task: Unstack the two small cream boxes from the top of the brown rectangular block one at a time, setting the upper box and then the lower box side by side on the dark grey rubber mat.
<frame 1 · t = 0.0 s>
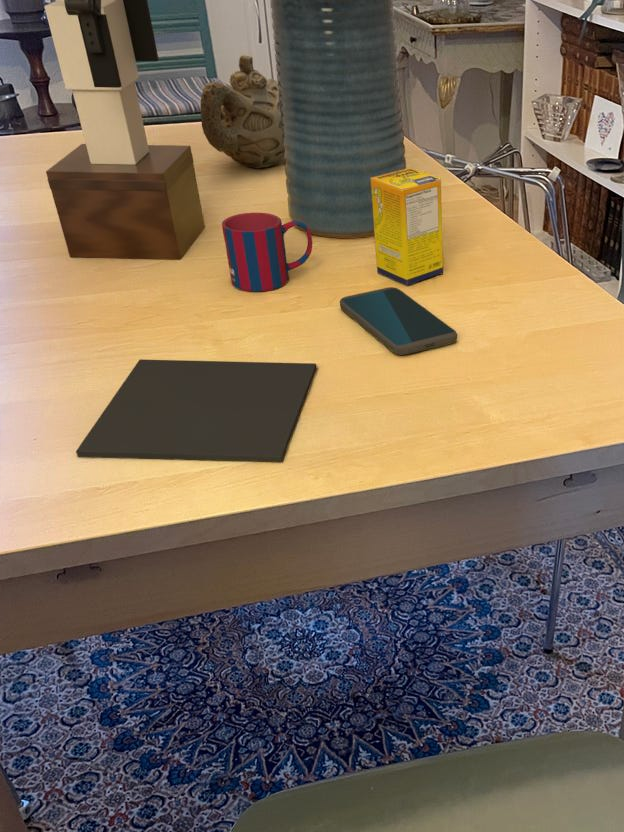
hand: (128, 73, 106), 20 cm above the table, tool pointing down, fingers open, 13 cm apart
vase: (350, 221, 128), on the table
rubber mat: (206, 409, 88), on the table
teapot: (257, 167, 147), on the table
supplement box: (410, 275, 114), on the table
upper box: (103, 83, 109), point 18 cm above the table, touching gripper, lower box
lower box: (120, 157, 115), point 10 cm above the table, touching brown rectangular block, upper box
smartphone: (397, 325, 103), on the table
mug: (274, 281, 112), on the table
brown rectangular block: (139, 241, 121), on the table
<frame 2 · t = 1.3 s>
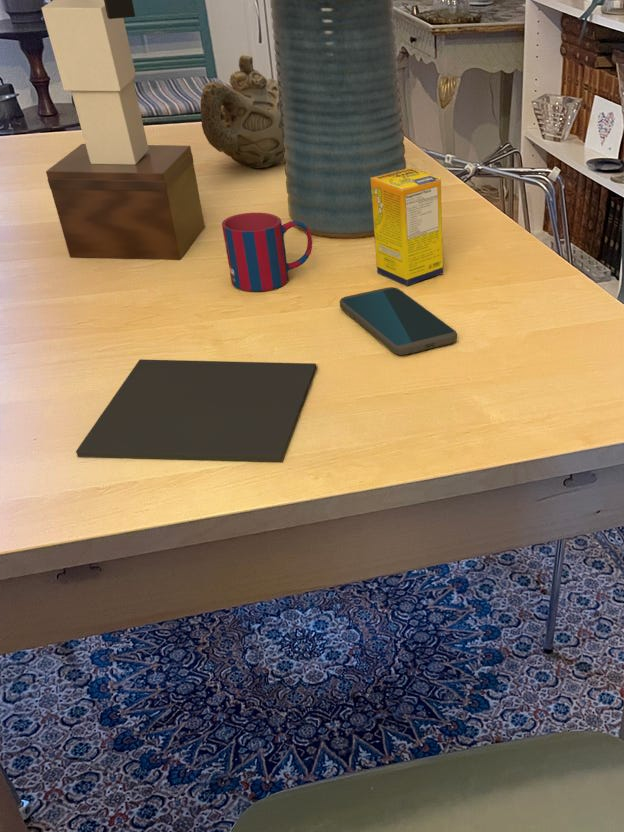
hand: (101, 8, 103), 26 cm above the table, tool pointing down, fingers open, 13 cm apart
nothing on the table moved.
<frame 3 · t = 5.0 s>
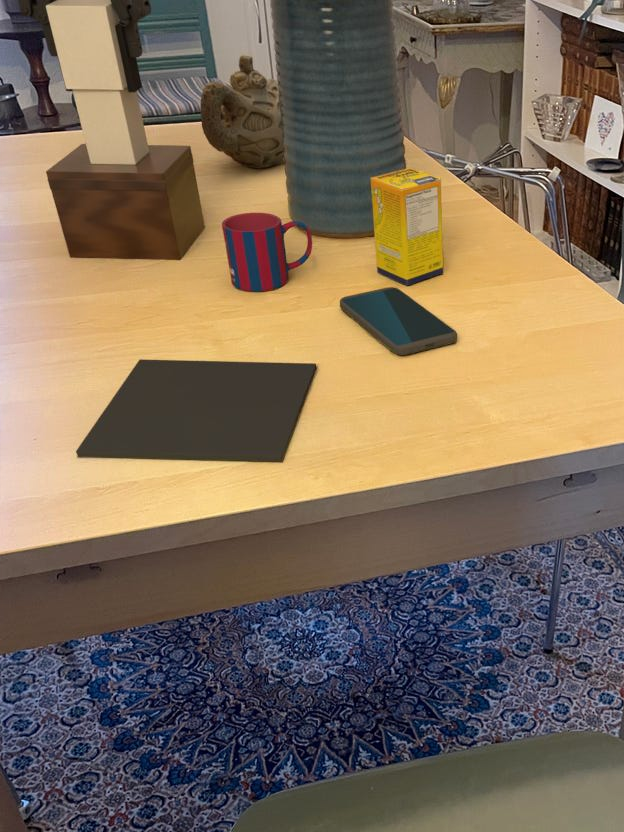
hand: (104, 88, 110), 17 cm above the table, tool pointing down, fingers closed on upper box, 7 cm apart
upper box: (102, 83, 109), point 18 cm above the table, touching gripper, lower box
everything else where it was.
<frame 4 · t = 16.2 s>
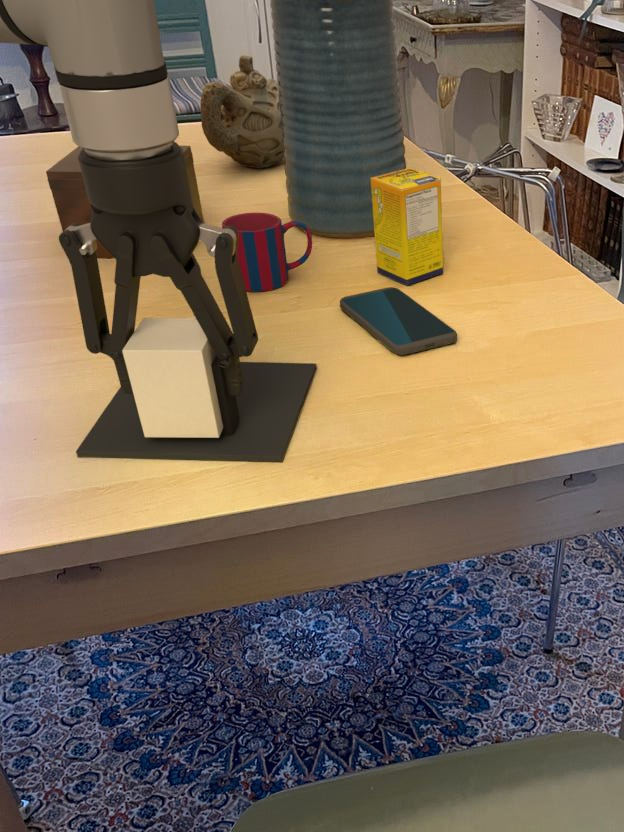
hand: (191, 425, 84), 1 cm above the table, tool pointing down, fingers closed on upper box, 7 cm apart
upper box: (190, 419, 84), point 1 cm above the table, touching gripper
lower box: (120, 157, 115), point 10 cm above the table, touching brown rectangular block
everything else where it was.
when the fingers open (2 cm above the table, at t = 38.6 s): upper box stays where it is, resting on rubber mat.
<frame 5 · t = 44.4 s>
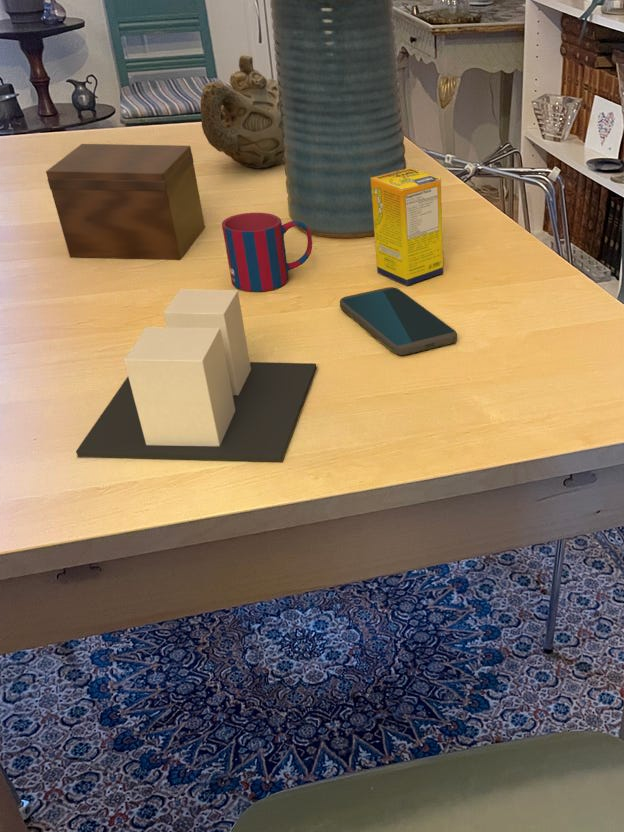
upper box: (192, 427, 84), point 1 cm above the table, touching rubber mat
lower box: (217, 381, 91), point 1 cm above the table, touching rubber mat
everything else where it was.
at the end: upper box inside the target area on the rubber mat (4.5 cm from its centre), point 0.6 cm above the rubber mat's base; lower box inside the target area on the rubber mat (4.5 cm from its centre), point 0.6 cm above the rubber mat's base; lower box tilted 0° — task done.
